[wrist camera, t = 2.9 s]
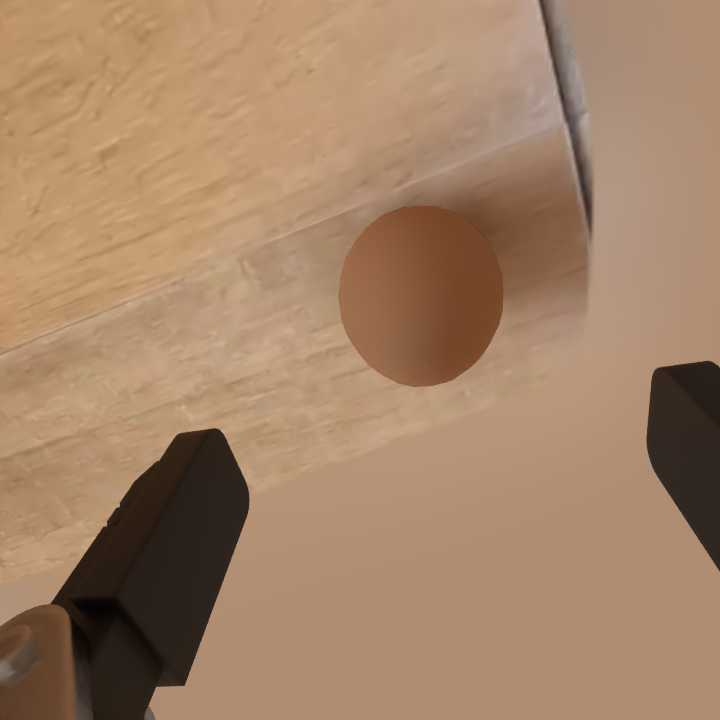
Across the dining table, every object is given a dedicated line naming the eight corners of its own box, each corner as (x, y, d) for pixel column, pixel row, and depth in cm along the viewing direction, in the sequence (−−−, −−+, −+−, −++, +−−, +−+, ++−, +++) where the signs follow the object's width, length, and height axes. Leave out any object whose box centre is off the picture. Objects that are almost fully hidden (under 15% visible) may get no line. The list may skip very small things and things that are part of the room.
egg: (512, 241, 18) (579, 336, 11) (426, 337, 20) (438, 465, 13) (403, 156, 17) (403, 204, 10) (326, 269, 19) (282, 371, 12)
